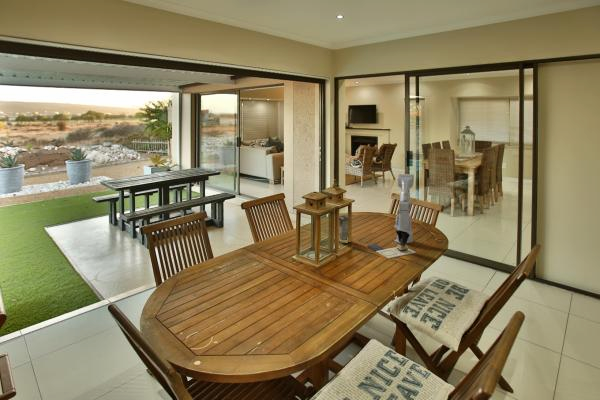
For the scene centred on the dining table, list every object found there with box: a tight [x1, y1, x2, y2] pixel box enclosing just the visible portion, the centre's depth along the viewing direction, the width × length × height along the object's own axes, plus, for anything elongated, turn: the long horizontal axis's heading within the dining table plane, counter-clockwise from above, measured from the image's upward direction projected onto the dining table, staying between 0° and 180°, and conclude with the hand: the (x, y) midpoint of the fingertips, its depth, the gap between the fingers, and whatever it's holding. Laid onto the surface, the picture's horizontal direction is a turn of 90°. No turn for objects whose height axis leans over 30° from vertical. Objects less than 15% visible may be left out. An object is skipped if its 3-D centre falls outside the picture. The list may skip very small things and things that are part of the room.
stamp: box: [396, 238, 409, 251], centre depth 217 cm, size 5×4×7 cm
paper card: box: [375, 246, 417, 259], centre depth 216 cm, size 20×12×1 cm, turn 114°
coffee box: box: [339, 215, 349, 240], centre depth 235 cm, size 9×6×16 cm
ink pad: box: [366, 243, 384, 252], centre depth 223 cm, size 7×7×1 cm
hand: (402, 242), depth 217 cm, fingers closed on stamp, 3 cm apart
